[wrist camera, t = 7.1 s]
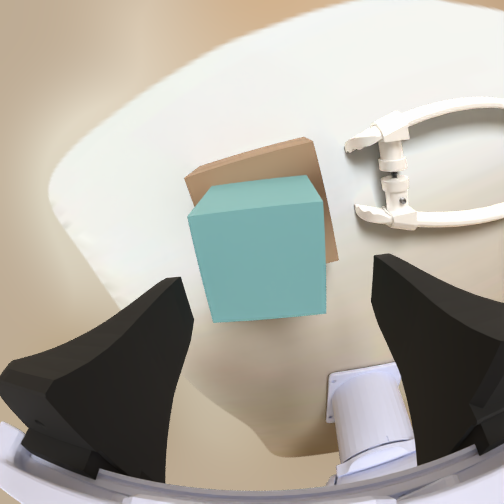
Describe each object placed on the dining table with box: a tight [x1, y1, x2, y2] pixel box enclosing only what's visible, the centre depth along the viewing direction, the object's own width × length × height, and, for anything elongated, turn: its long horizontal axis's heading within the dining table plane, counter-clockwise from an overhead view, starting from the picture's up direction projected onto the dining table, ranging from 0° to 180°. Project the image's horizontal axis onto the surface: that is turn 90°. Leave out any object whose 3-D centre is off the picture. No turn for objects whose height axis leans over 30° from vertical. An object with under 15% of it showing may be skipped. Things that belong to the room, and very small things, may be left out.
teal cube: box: [187, 175, 326, 323], centre depth 14 cm, size 5×5×5 cm
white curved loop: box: [345, 97, 504, 231], centre depth 16 cm, size 3×10×25 cm
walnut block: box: [184, 137, 339, 263], centre depth 18 cm, size 7×7×4 cm
